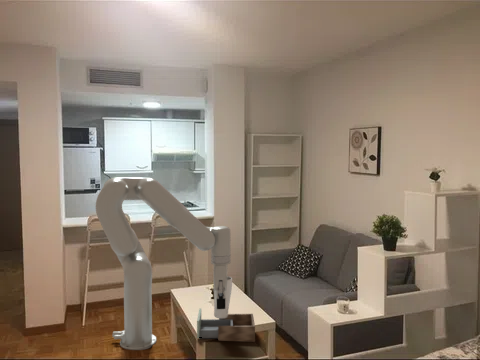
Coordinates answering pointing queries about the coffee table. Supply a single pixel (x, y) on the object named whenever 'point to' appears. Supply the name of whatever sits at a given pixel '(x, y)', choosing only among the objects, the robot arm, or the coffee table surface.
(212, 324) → the tray
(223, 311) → the drinking glass
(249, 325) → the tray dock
